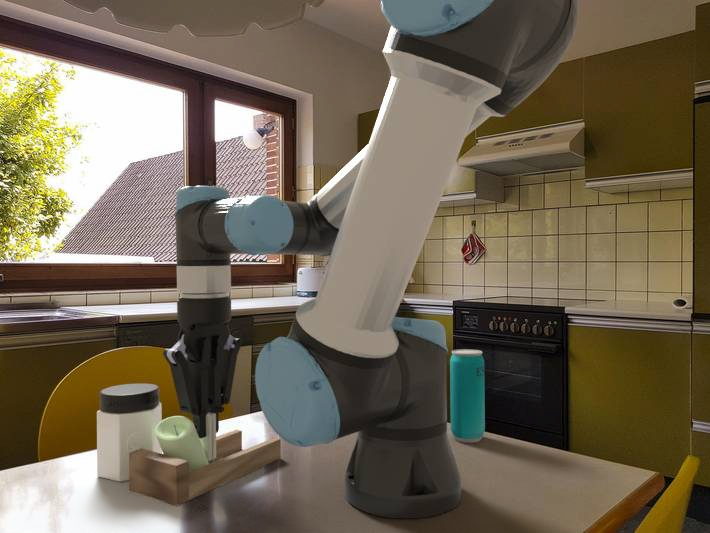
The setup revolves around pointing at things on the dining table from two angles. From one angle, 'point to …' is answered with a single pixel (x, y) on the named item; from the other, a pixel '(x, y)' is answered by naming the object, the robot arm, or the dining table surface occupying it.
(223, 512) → the dining table surface
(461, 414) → the beverage can
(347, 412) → the robot arm
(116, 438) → the jar
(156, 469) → the channel
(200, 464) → the candle
